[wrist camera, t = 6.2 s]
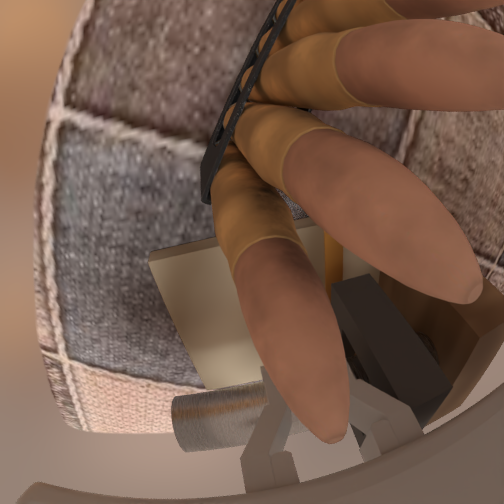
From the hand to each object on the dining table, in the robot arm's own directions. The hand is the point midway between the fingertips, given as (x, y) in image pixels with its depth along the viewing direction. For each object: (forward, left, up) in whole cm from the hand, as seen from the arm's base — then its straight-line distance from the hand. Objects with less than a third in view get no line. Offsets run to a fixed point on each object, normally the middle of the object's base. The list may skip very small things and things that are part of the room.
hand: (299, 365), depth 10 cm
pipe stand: (-2, +3, -7) cm, 8 cm away
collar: (-4, +3, -4) cm, 6 cm away
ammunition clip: (-1, -10, -7) cm, 12 cm away
